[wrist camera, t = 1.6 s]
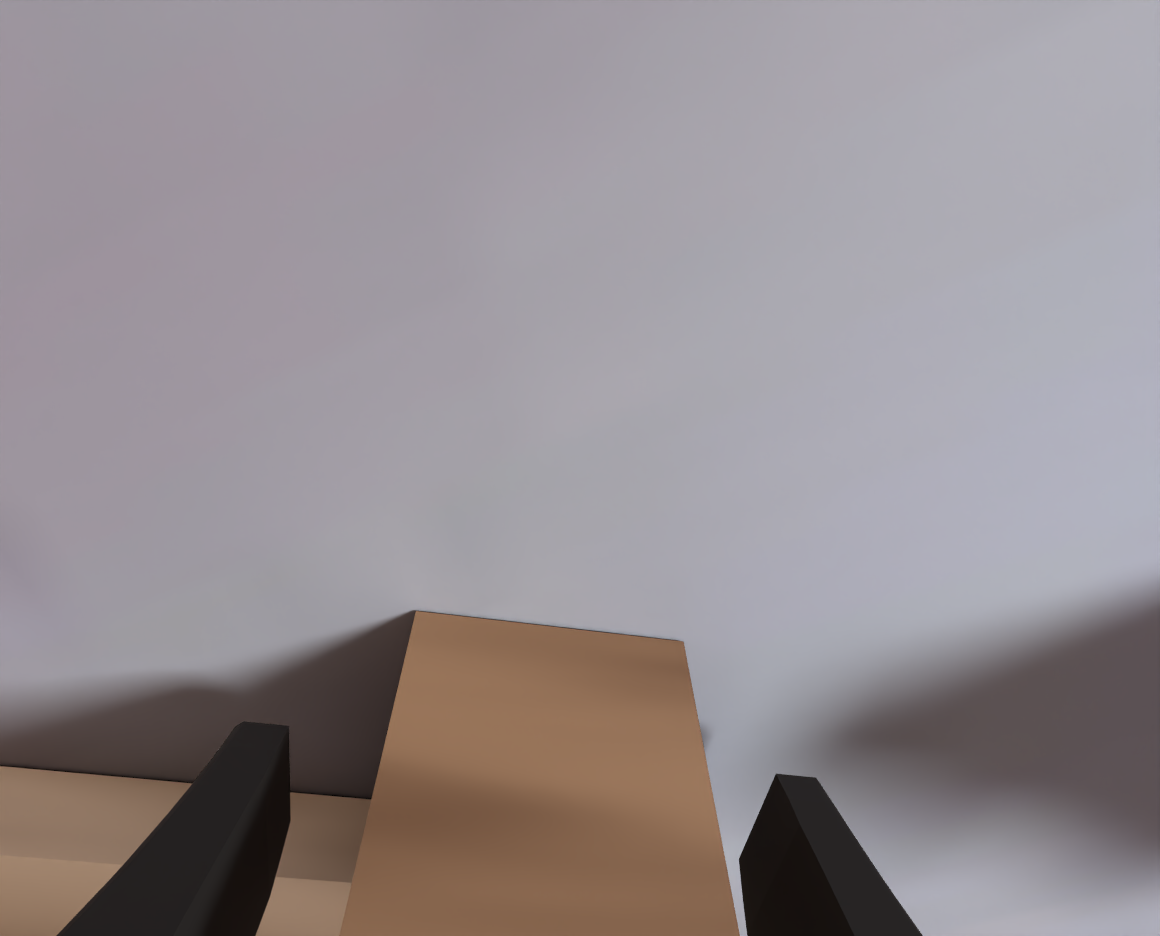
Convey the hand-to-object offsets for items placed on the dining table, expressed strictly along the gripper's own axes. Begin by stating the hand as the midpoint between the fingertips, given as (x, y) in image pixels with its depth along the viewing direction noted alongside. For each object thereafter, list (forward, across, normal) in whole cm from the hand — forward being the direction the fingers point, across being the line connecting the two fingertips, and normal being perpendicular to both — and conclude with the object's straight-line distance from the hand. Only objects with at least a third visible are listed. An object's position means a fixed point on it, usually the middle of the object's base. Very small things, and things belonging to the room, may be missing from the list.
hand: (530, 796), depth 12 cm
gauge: (+1, 0, +3) cm, 4 cm away
